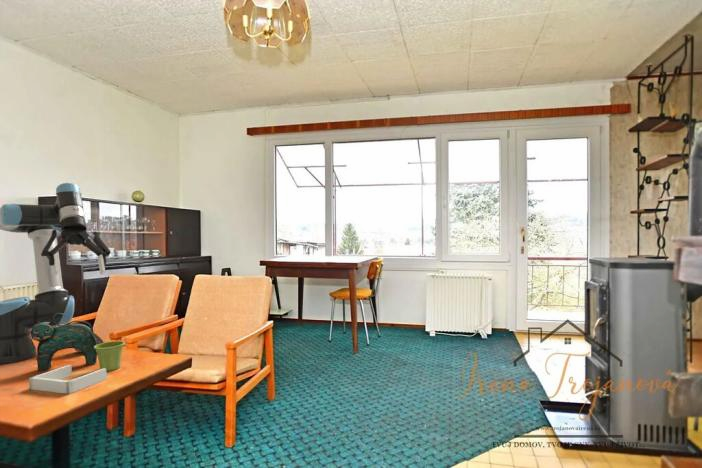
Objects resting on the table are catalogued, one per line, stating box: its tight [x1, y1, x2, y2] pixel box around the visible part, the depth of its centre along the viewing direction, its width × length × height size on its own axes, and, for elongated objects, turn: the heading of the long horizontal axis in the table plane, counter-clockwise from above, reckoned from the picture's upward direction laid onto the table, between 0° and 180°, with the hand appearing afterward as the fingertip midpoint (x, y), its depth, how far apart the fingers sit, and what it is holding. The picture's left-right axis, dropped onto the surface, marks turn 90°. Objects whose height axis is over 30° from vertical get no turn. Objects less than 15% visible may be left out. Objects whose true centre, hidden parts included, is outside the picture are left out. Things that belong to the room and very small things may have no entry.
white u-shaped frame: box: [28, 364, 108, 395], centre depth 134 cm, size 16×13×4 cm
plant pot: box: [94, 340, 125, 372], centre depth 149 cm, size 9×9×9 cm
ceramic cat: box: [30, 313, 98, 373], centre depth 153 cm, size 20×6×20 cm, turn 112°
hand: (80, 273), depth 141 cm, fingers open, 13 cm apart
